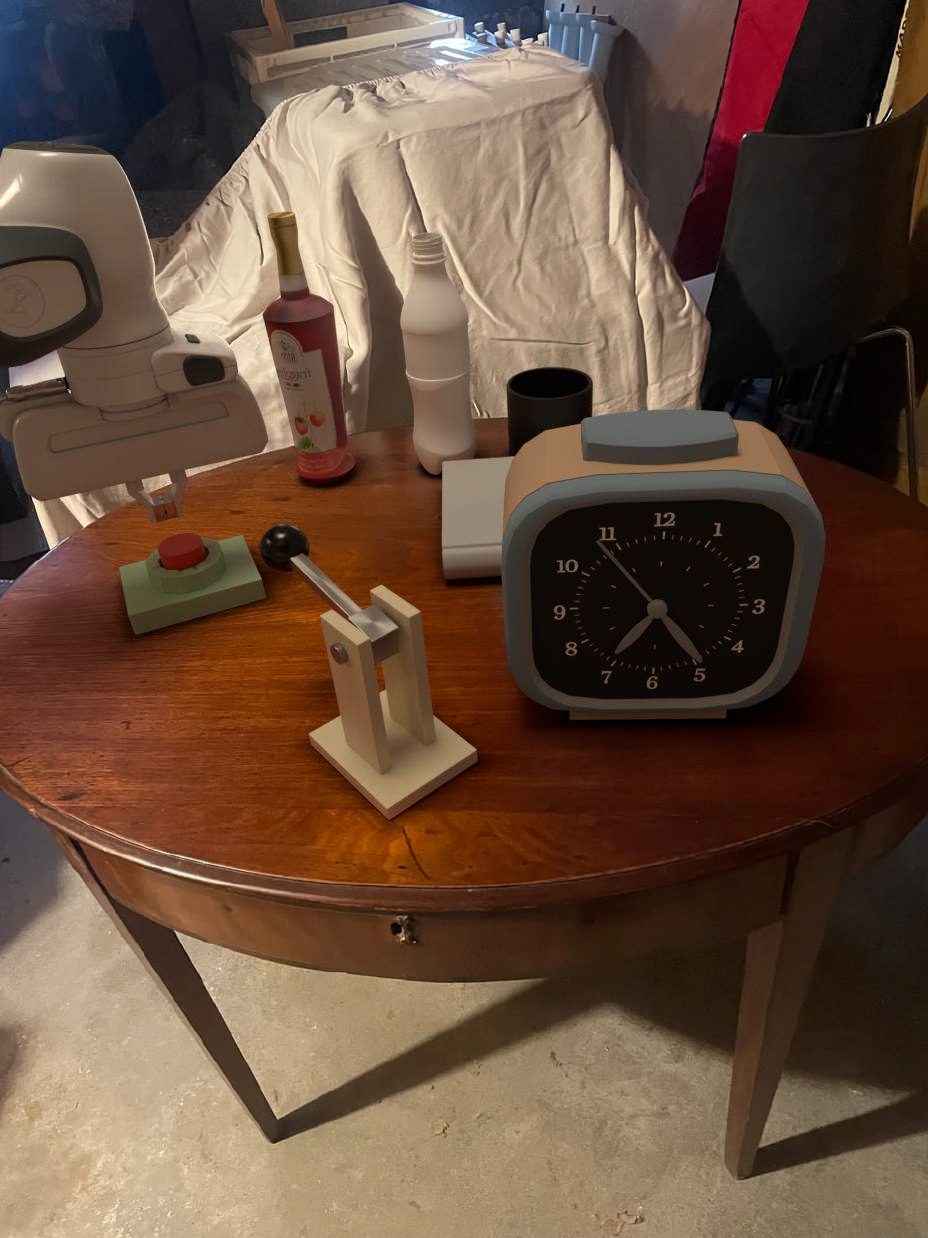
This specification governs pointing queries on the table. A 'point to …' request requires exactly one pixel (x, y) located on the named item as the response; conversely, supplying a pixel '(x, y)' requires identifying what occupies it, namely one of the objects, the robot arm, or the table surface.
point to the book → (473, 516)
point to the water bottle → (437, 359)
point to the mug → (546, 402)
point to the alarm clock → (657, 566)
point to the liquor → (307, 362)
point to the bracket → (387, 714)
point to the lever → (327, 587)
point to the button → (182, 551)
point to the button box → (190, 586)
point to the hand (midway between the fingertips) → (167, 517)
